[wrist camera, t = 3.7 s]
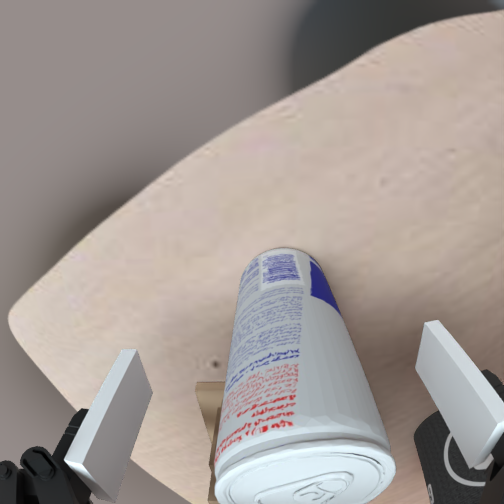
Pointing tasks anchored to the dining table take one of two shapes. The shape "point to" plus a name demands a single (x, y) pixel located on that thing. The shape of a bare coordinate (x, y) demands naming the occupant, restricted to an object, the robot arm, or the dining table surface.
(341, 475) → the beverage can
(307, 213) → the dining table surface
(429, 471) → the coffee cup
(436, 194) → the dining table surface
